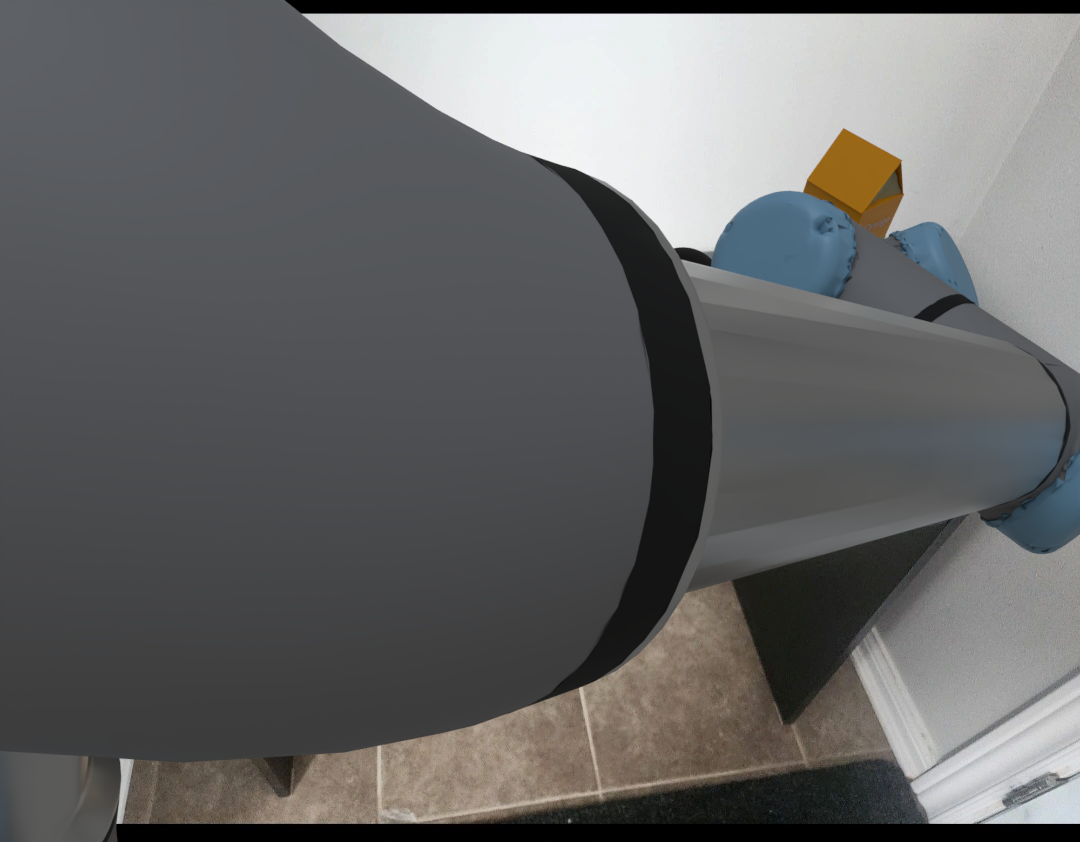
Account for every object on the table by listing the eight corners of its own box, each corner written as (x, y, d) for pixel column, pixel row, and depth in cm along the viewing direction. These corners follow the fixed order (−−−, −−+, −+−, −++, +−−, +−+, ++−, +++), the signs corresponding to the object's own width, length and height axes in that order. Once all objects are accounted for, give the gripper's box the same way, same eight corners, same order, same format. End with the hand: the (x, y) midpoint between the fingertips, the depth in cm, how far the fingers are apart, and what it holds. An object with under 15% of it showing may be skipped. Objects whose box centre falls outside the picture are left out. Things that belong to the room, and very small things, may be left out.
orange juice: (813, 255, 105) (863, 119, 90) (862, 288, 101) (924, 151, 86) (774, 273, 102) (820, 136, 87) (823, 309, 98) (880, 170, 83)
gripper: (758, 522, 50) (535, 578, 63) (778, 292, 65) (596, 376, 79) (694, 455, 46) (473, 530, 60) (731, 230, 62) (550, 329, 76)
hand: (543, 443), depth 69 cm, fingers open, 13 cm apart
